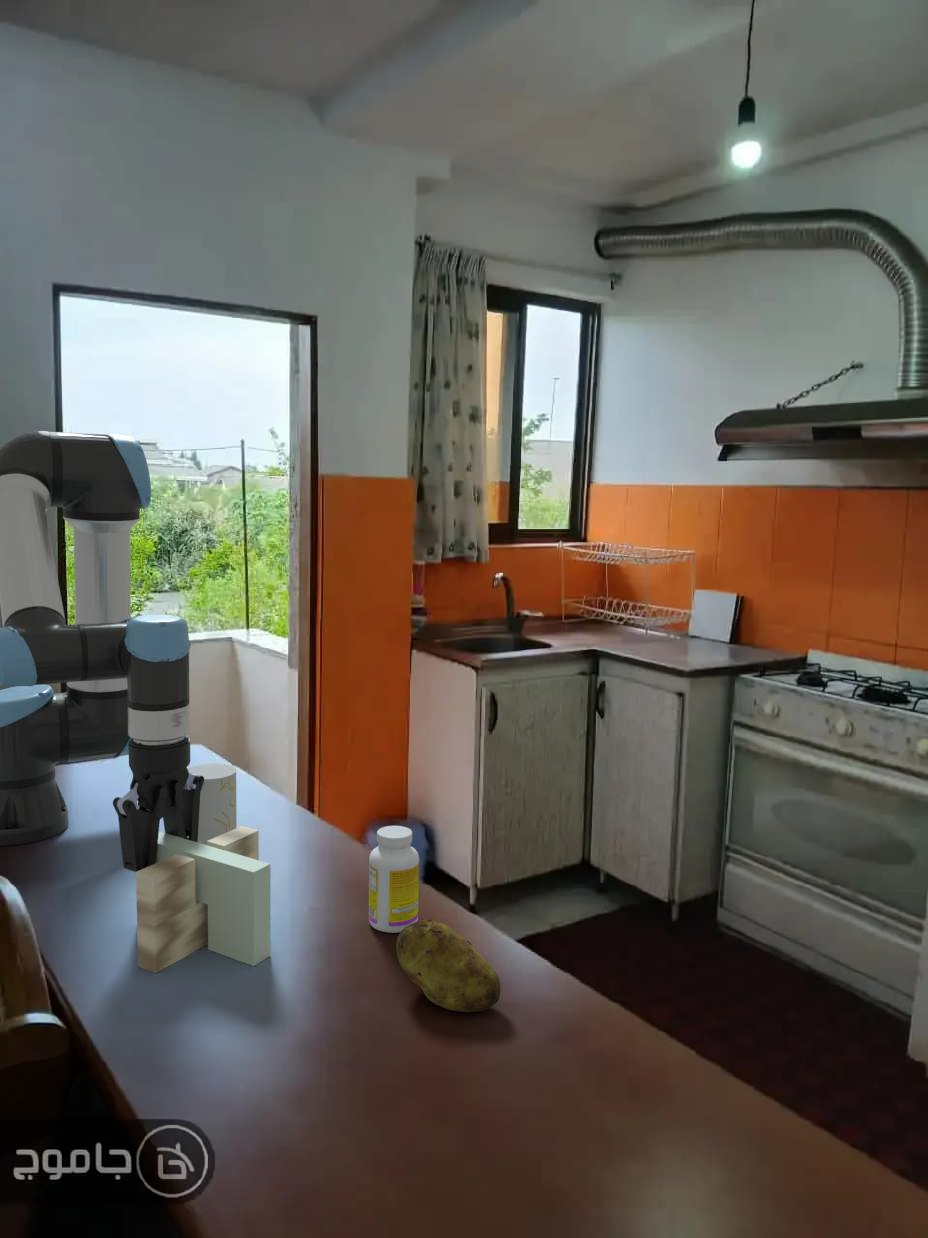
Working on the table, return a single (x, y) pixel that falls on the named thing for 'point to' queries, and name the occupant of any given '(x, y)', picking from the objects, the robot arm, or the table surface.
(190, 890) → the notched wooden block
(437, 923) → the potato
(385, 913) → the supplement bottle
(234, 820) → the grey cylinder
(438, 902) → the table surface
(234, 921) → the sage slat
